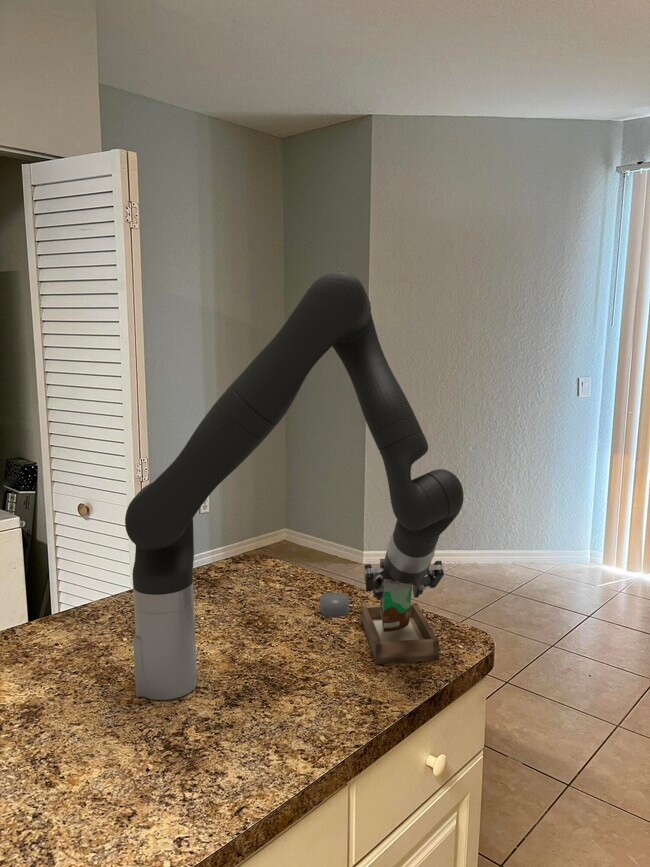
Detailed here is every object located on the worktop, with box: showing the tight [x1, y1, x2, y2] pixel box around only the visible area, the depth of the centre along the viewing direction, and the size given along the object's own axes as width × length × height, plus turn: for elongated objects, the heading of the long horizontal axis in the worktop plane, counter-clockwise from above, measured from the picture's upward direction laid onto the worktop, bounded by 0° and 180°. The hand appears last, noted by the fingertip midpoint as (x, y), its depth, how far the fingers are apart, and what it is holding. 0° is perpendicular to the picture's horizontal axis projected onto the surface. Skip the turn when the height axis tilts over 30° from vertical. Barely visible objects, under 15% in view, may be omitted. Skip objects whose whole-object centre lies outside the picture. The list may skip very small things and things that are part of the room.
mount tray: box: [360, 602, 440, 665], centre depth 127 cm, size 11×17×4 cm, turn 5°
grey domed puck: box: [319, 591, 350, 618], centre depth 141 cm, size 6×6×3 cm
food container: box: [379, 558, 413, 632], centre depth 126 cm, size 12×6×10 cm, turn 179°
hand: (396, 593), depth 128 cm, fingers closed on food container, 6 cm apart
